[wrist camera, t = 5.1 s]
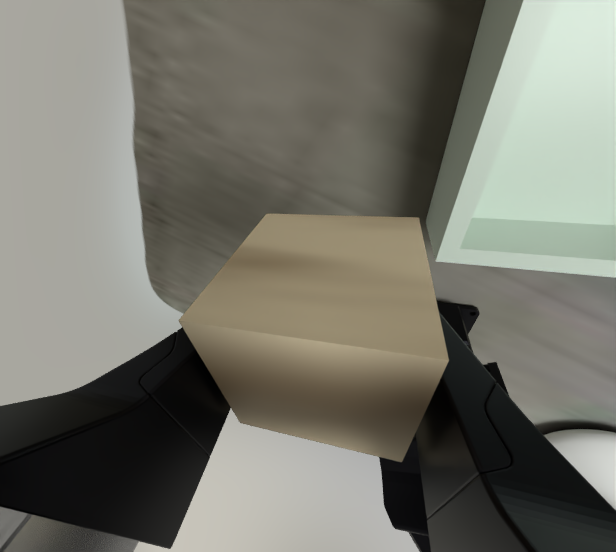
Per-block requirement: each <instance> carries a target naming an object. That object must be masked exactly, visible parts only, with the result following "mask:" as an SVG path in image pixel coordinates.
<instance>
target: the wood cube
mask: <svg viewBox="0 0 616 552" xmlns="http://www.w3.org/2000/svg"><path fill="white" fill-rule="evenodd" d="M179 322H180V324H181V325H182V327H183V329H184V331H185V332H186V334H187V335H188V337H189V339H190V340H191V342H192V344H193V345H194V347H195V349H196V350H197V352H198V354H199V355H200V357H201V359H202V360H203V362H204V364H205V365H206V367H207V369H208V370H209V372H210V374H211V375H212V377H213V379H214V380H215V382H216V384H217V385H218V387H219V388H220V390H221V392H222V393H223V395H224V397H225V398H226V400H227V402H228V403H229V405H230V407H231V408H232V410H233V412H234V413H235V415H236V416H237V418H238V420H239V421H240V423H243V424H247V425H251V426H255V427H259V428H263V429H268V430H271V431H276V432H279V433H284V434H288V435H292V436H296V437H300V438H304V439H308V440H313V441H316V442H320V443H324V444H329V445H333V446H337V447H341V448H345V449H349V450H353V451H357V452H362V453H366V454H370V455H374V456H378V457H382V458H386V459H390V460H394V461H398V462H402V461H403V459H404V457H405V455H406V452H407V450H408V448H409V446H410V444H411V442H412V439H413V437H414V435H415V433H416V431H417V429H418V426H419V424H420V422H421V420H422V418H423V416H424V413H425V411H426V409H427V407H428V405H429V403H430V400H431V398H432V396H433V394H434V392H435V390H436V387H437V385H438V383H439V381H440V379H441V377H442V374H443V372H444V370H445V368H446V366H447V364H448V361H449V358H448V353H447V349H446V344H445V339H444V335H443V330H442V325H441V320H440V316H439V311H438V306H437V301H436V297H435V292H434V287H433V282H432V278H431V273H430V268H429V263H428V259H427V254H426V249H425V244H424V240H423V235H422V230H421V226H420V221H419V218H415V217H377V216H339V215H301V214H266V215H265V216H264V217H263V219H262V220H261V221H260V222H259V223H258V225H257V226H256V227H255V228H254V229H253V231H252V232H251V233H250V234H249V236H248V237H247V238H246V239H245V240H244V242H243V243H242V244H241V245H240V247H239V248H238V249H237V250H236V251H235V253H234V254H233V255H232V256H231V257H230V259H229V260H228V261H227V262H226V264H225V265H224V266H223V267H222V268H221V270H220V271H219V272H218V273H217V274H216V276H215V277H214V278H213V279H212V281H211V282H210V283H209V284H208V285H207V287H206V288H205V289H204V290H203V291H202V293H201V294H200V295H199V296H198V298H197V299H196V300H195V301H194V302H193V304H192V305H191V306H190V307H189V308H188V310H187V311H186V312H185V313H184V315H183V316H182V317H181V318H180V319H179Z"/></svg>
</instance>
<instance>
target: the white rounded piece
mask: <svg viewBox="0 0 616 552" xmlns="http://www.w3.org/2000/svg"><path fill="white" fill-rule="evenodd" d="M544 436H545V437H546V438H547V440H548V441H549V442H550V443H551V444H552V445H553V446H554V447H555V448H556V449H557V450H558V451H559V452H560V453H561V454H562V455H563V456H564V457H565V458H566V459H567V460H568V461H569V462H570V463H571V464H572V465H573V467H574V468H575V469H576V470H577V471H578V472H579V473H580V474H581V475H582V476H583V477H584V478H585V479H586V480H587V481H588V482H589V483H590V484H591V485H592V486H593V487H594V488H595V489H596V490H597V491H598V492H599V493H600V495H601V496H602V497H603V498H604V499H605V500H606V501H607V502H608V503H609V504H610V505H611V506H612V507H613V508H614V509H615V510H616V433H614V432H609V431H603V430H591V429H571V430H562V431H556V432H552V433H549V434H546V435H544Z"/></svg>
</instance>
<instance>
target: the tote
mask: <svg viewBox="0 0 616 552" xmlns="http://www.w3.org/2000/svg"><path fill="white" fill-rule="evenodd" d="M426 226H427V230H428V233H429V237H430V241H431V245H432V249H433V253H434V257H435V261H438V262H449V263H460V264H471V265H482V266H493V267H505V268H516V269H527V270H538V271H549V272H561V273H572V274H583V275H594V276H605V277H616V0H486V2H485V5H484V9H483V13H482V16H481V20H480V24H479V27H478V31H477V35H476V38H475V42H474V46H473V49H472V53H471V57H470V60H469V64H468V68H467V71H466V75H465V79H464V82H463V86H462V90H461V93H460V97H459V101H458V104H457V108H456V112H455V116H454V119H453V123H452V127H451V130H450V134H449V138H448V141H447V145H446V149H445V152H444V156H443V160H442V163H441V167H440V171H439V174H438V178H437V182H436V185H435V189H434V193H433V196H432V200H431V204H430V207H429V211H428V215H427V218H426Z"/></svg>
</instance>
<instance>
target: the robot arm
mask: <svg viewBox="0 0 616 552" xmlns="http://www.w3.org/2000/svg"><path fill="white" fill-rule="evenodd" d="M437 306H438V311H439V316H440V320H441V325H442V330H443V335H444V339H445V344H446V349H447V353H448V358H449V361H448V364H447V366H446V368H445V370H444V372H443V374H442V377H441V379H440V381H439V383H438V385H437V387H436V390H435V392H434V394H433V396H432V398H431V400H430V403H429V405H428V407H427V409H426V411H425V413H424V416H423V418H422V420H421V422H420V424H419V426H418V429H417V431H416V433H415V435H414V437H413V439H412V442H411V444H410V446H409V448H408V450H407V452H406V455H405V457H404V459H403V461H402V462H398V461H394V460H390V459H386V458H382V457H379V458H380V465H381V471H382V482H383V496H384V506H385V509H386V511H387V514H388V516H389V518H390V521H391V523H392V525H393V527H394V528H395V529H398V530H403V531H407V532H409V534H410V536H411V537H412V539H413V541H414V543H415V544H416V546H417V548H418V549H419V551H420V552H616V510H615V509H614V508H613V507H612V506H611V505H610V504H609V503H608V502H607V501H606V500H605V499H604V498H603V497H602V496H601V495H600V493H599V492H598V491H597V490H596V489H595V488H594V487H593V486H592V485H591V484H590V483H589V482H588V481H587V480H586V479H585V478H584V477H583V476H582V475H581V474H580V473H579V472H578V471H577V470H576V469H575V468H574V467H573V465H572V464H571V463H570V462H569V461H568V460H567V459H566V458H565V457H564V456H563V455H562V454H561V453H560V452H559V451H558V450H557V449H556V448H555V447H554V446H553V445H552V444H551V443H550V442H549V441H548V440H547V438H546V437H545V436H544V435H543V434H542V433H541V432H540V431H539V430H538V429H537V428H536V427H535V426H534V425H533V423H532V422H531V421H530V420H529V419H528V418H527V417H526V416H525V415H524V414H523V412H522V411H521V410H520V409H519V408H518V407H517V405H516V404H515V403H514V402H513V401H512V400H511V398H510V397H509V395H508V392H507V389H506V387H505V384H504V381H503V379H502V376H501V373H500V371H499V368H498V366H497V363H496V362H493V363H488V364H486V365H482V363H481V362H480V361H479V360H478V359H477V357H476V356H475V355H474V354H473V351H472V347H471V344H470V340H469V337H468V333H469V332H470V330H471V328H472V326H473V324H474V323H475V321H476V319H477V317H478V316H479V310H478V308H477V307H473V306H465V305H457V304H448V303H440V302H437ZM230 408H231V407H230V405H229V403H228V402H227V400H226V398H225V397H224V395H223V393H222V392H221V390H220V388H219V387H218V385H217V384H216V382H215V380H214V379H213V377H212V375H211V374H210V372H209V370H208V369H207V367H206V365H205V364H204V362H203V360H202V359H201V357H200V355H199V354H198V352H197V350H196V349H195V347H194V345H193V344H192V342H191V340H190V339H189V337H188V335H187V334H186V332H185V331H184V329H183V327H182V328H181V329H179V330H178V331H177V332H174V333H173V334H171V335H170V336H169V337H167V338H165V339H164V340H162V341H161V342H159V343H158V344H156V345H154V346H153V347H151V348H149V349H148V350H146V351H144V352H143V353H141V354H139V355H138V356H136V357H135V358H132V359H131V360H129V361H127V362H126V363H124V364H122V365H120V366H118V367H117V368H115V369H113V370H111V371H110V372H108V373H106V374H105V375H103V376H101V377H99V378H97V379H96V380H94V381H92V382H90V383H88V384H86V385H84V386H82V387H80V388H77V389H75V390H72V391H69V392H66V393H62V394H58V395H53V396H48V397H43V398H38V399H33V400H29V401H23V402H18V403H13V404H9V405H4V406H0V552H133V551H134V549H135V548H136V546H137V544H138V542H139V541H140V542H145V543H148V544H152V545H156V546H160V547H164V548H168V549H170V548H171V547H172V545H173V542H174V540H175V538H176V536H177V534H178V531H179V529H180V527H181V524H182V522H183V520H184V517H185V515H186V512H187V510H188V507H189V505H190V503H191V501H192V498H193V496H194V494H195V491H196V489H197V486H198V484H199V482H200V479H201V477H202V475H203V472H204V470H205V468H206V465H207V463H208V461H209V458H210V455H211V453H212V451H213V448H214V446H215V444H216V441H217V439H218V437H219V434H220V432H221V430H222V427H223V425H224V423H225V420H226V418H227V415H228V413H229V411H230Z"/></svg>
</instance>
